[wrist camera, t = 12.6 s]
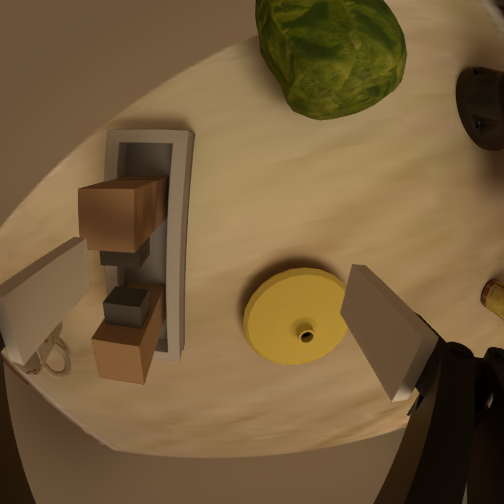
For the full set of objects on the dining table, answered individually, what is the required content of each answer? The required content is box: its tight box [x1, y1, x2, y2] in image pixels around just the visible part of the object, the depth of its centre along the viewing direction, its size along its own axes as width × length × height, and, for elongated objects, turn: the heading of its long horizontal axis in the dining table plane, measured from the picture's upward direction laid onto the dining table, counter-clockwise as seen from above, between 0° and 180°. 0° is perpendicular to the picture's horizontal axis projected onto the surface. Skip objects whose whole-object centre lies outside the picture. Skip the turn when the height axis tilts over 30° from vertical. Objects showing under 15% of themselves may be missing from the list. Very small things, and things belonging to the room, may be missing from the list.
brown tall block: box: [78, 175, 169, 268], centre depth 28 cm, size 8×5×14 cm, turn 175°
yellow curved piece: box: [243, 267, 348, 365], centre depth 39 cm, size 16×16×7 cm
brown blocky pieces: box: [91, 129, 195, 385], centre depth 31 cm, size 30×10×16 cm, turn 174°
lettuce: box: [255, 0, 407, 120], centre depth 25 cm, size 16×21×15 cm
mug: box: [3, 322, 71, 379], centre depth 36 cm, size 8×13×10 cm, turn 35°
